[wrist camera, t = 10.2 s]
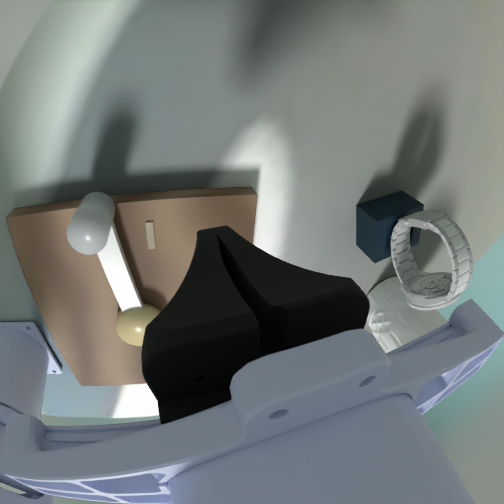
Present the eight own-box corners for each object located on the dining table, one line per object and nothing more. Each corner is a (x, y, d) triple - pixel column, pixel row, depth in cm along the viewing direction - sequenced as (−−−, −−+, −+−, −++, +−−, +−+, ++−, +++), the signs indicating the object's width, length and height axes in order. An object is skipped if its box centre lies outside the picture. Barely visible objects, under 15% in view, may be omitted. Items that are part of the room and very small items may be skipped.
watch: (355, 260, 28) (423, 338, 19) (355, 187, 23) (451, 259, 14) (398, 243, 28) (467, 309, 20) (403, 173, 24) (495, 232, 15)
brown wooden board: (82, 374, 26) (81, 386, 25) (13, 209, 16) (5, 218, 14) (236, 361, 31) (240, 372, 30) (251, 187, 21) (257, 195, 19)
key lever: (169, 332, 23) (173, 363, 21) (126, 340, 23) (126, 371, 20) (122, 184, 16) (114, 206, 13) (64, 200, 15) (48, 224, 12)
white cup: (415, 280, 34) (463, 332, 26) (378, 325, 36) (418, 379, 28) (386, 264, 30) (444, 324, 22) (344, 316, 33) (389, 381, 25)
